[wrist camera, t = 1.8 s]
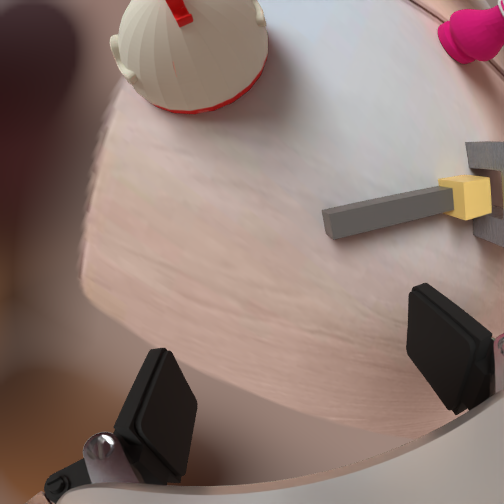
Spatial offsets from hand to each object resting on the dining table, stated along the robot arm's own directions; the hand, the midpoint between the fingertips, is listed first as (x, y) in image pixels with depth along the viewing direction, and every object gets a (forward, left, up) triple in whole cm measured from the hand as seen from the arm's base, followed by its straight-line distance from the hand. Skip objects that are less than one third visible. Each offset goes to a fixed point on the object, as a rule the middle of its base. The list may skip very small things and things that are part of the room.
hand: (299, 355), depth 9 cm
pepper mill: (-20, +31, -19) cm, 41 cm away
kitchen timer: (-20, -2, -19) cm, 28 cm away
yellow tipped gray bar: (0, +16, -19) cm, 24 cm away
